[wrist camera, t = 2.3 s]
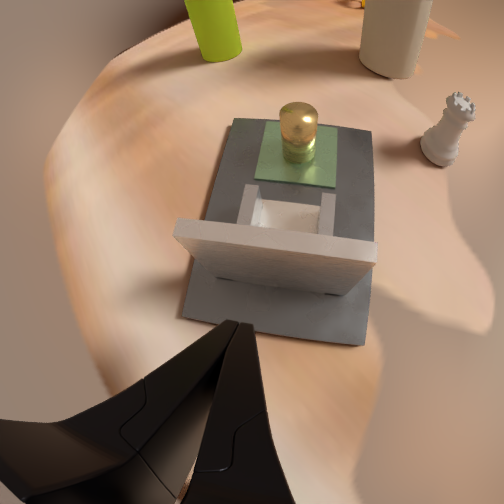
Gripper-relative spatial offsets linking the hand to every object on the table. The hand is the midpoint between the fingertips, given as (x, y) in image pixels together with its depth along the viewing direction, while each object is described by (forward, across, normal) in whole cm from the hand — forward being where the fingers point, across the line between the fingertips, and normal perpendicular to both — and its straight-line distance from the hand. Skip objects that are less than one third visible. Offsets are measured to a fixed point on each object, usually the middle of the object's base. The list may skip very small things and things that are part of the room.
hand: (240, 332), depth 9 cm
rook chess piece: (+24, -15, -5) cm, 29 cm away
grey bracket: (+14, 0, +4) cm, 14 cm away
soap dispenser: (+35, +13, -16) cm, 41 cm away
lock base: (+17, 0, +2) cm, 17 cm away
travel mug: (+35, -11, -16) cm, 40 cm away
